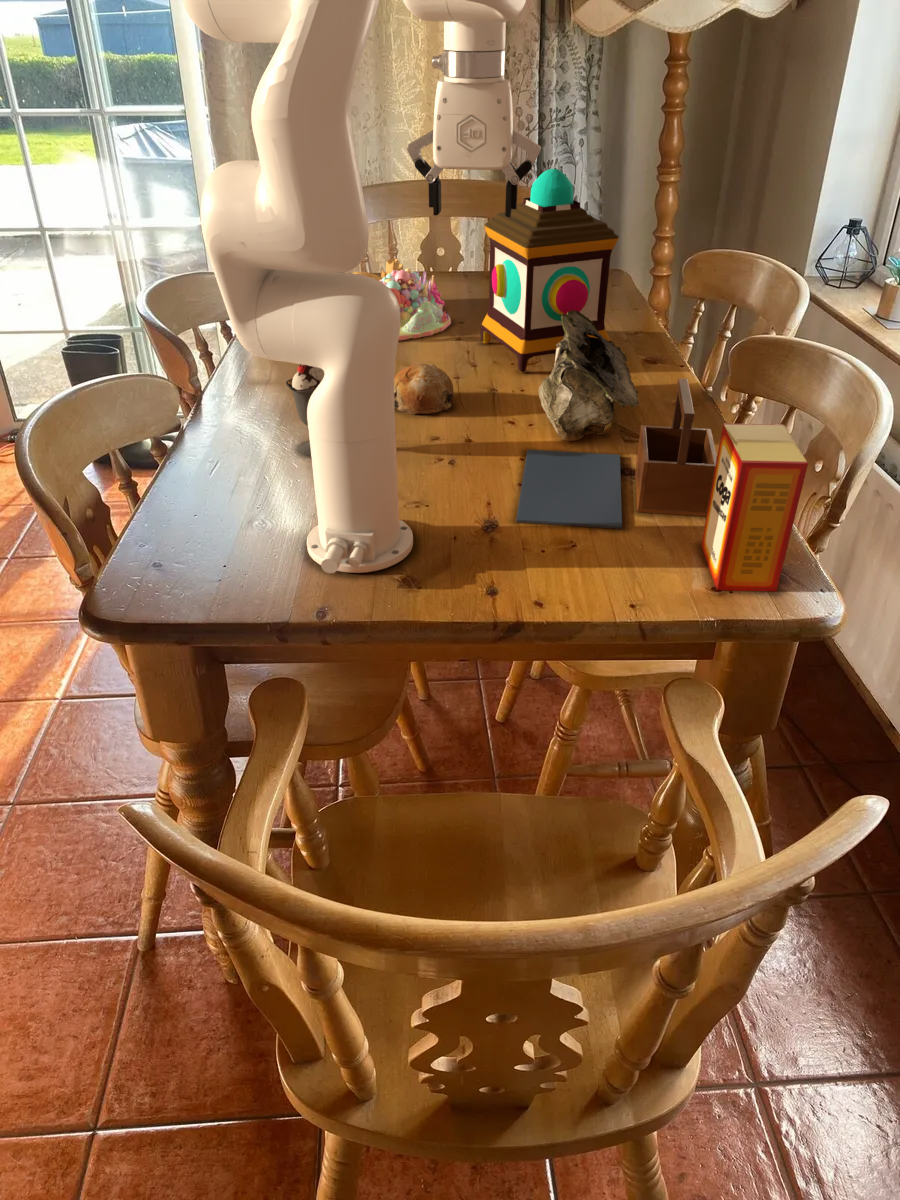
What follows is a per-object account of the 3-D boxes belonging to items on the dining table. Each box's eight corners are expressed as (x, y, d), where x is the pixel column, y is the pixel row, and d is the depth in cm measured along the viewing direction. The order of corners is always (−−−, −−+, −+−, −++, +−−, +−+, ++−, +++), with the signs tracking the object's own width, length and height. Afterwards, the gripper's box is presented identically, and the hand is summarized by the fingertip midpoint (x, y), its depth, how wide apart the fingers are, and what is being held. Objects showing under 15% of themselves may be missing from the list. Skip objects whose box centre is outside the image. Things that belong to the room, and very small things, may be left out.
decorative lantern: (620, 362, 158) (640, 174, 141) (516, 378, 152) (524, 184, 135) (566, 327, 173) (578, 154, 156) (470, 341, 167) (472, 162, 150)
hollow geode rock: (578, 403, 155) (520, 336, 151) (639, 354, 149) (580, 284, 145) (569, 472, 132) (500, 397, 128) (640, 419, 126) (570, 337, 121)
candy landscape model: (307, 316, 179) (303, 268, 174) (399, 292, 192) (398, 246, 187) (387, 348, 164) (385, 296, 159) (481, 320, 177) (482, 271, 172)
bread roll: (434, 439, 141) (455, 396, 136) (374, 408, 140) (394, 364, 135) (446, 413, 149) (467, 372, 144) (391, 384, 148) (410, 342, 143)
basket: (710, 517, 114) (728, 415, 106) (637, 512, 115) (650, 411, 107) (702, 476, 123) (719, 380, 115) (635, 472, 124) (647, 376, 116)
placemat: (621, 529, 112) (622, 526, 111) (516, 522, 113) (516, 519, 113) (619, 457, 128) (620, 454, 127) (527, 451, 129) (527, 449, 129)
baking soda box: (701, 545, 108) (723, 420, 99) (756, 546, 108) (784, 421, 99) (717, 590, 101) (743, 459, 91) (776, 591, 100) (809, 460, 91)
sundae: (296, 462, 127) (285, 357, 118) (290, 442, 132) (279, 340, 124) (343, 456, 128) (335, 352, 120) (335, 436, 134) (327, 336, 125)
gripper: (400, 69, 110) (405, 219, 120) (543, 70, 109) (536, 222, 118) (409, 64, 116) (413, 206, 126) (545, 65, 115) (538, 209, 124)
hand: (472, 214), depth 122 cm, fingers open, 9 cm apart
